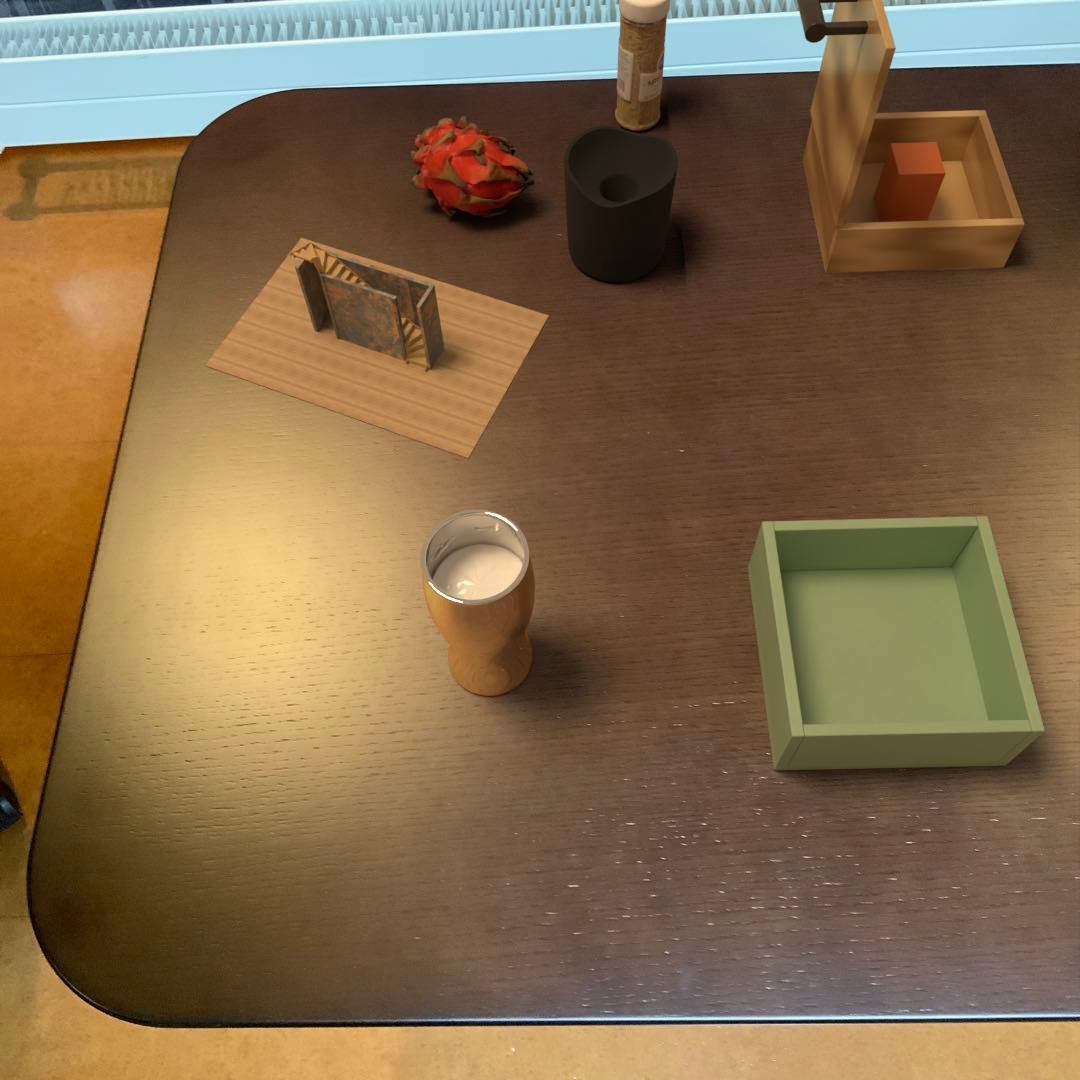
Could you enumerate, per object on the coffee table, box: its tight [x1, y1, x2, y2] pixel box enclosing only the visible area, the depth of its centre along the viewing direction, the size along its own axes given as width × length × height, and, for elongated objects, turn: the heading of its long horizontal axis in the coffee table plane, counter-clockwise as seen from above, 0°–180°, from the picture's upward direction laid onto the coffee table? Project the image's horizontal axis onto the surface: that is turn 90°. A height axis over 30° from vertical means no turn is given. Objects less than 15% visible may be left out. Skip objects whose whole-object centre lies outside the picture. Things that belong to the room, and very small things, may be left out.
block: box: [874, 142, 946, 222], centre depth 93 cm, size 4×4×6 cm
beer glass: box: [419, 508, 536, 697], centre depth 69 cm, size 7×7×15 cm
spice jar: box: [614, 0, 671, 132], centre depth 99 cm, size 5×5×13 cm
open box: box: [747, 515, 1046, 771], centre depth 72 cm, size 16×16×7 cm
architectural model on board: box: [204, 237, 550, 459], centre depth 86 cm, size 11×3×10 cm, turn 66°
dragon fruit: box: [410, 115, 537, 218], centre depth 96 cm, size 8×8×12 cm
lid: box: [796, 0, 897, 226], centre depth 84 cm, size 16×15×5 cm
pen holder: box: [563, 125, 679, 283], centre depth 91 cm, size 9×9×10 cm
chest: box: [802, 109, 1026, 274], centre depth 94 cm, size 16×15×6 cm
